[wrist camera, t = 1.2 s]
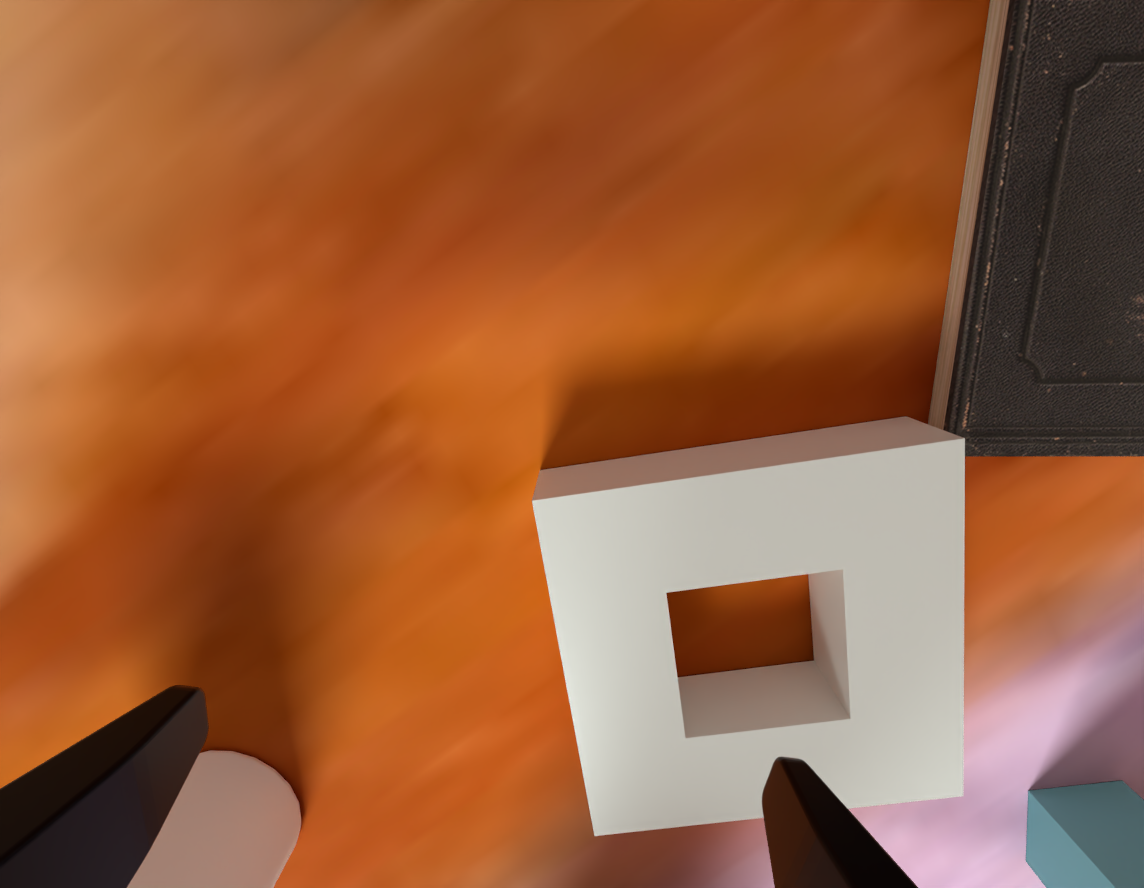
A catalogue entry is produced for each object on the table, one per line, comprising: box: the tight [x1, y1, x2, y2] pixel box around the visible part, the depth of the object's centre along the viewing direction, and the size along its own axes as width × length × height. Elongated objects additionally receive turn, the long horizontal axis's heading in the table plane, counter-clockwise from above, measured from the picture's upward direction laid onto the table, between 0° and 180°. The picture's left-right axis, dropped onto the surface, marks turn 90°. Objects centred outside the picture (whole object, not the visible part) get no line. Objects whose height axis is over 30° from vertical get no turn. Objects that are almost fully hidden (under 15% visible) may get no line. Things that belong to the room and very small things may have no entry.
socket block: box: [532, 416, 965, 836], centre depth 22 cm, size 14×14×4 cm
